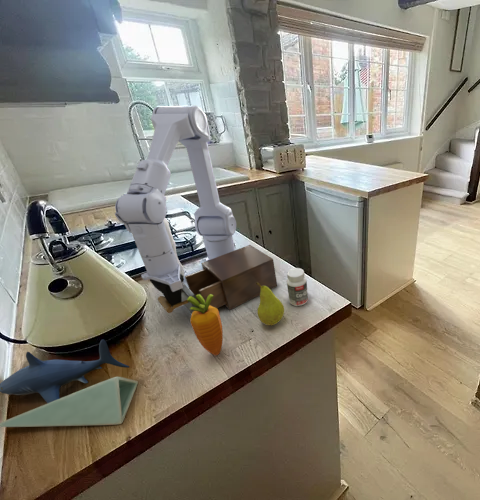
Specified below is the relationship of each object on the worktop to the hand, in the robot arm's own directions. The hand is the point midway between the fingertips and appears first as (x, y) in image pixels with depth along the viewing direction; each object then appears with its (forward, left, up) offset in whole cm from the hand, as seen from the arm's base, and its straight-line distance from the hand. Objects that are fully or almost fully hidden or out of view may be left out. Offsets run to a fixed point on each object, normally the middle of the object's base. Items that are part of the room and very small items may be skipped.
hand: (175, 303), depth 67 cm
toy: (+5, -19, -5) cm, 21 cm away
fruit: (+17, +14, -5) cm, 22 cm away
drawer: (0, +6, -3) cm, 7 cm away
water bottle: (-18, +4, -5) cm, 19 cm away
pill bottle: (+15, +23, -5) cm, 28 cm away
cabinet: (0, +16, -4) cm, 16 cm away
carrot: (+17, +1, -5) cm, 18 cm away
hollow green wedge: (+7, -29, 0) cm, 30 cm away
